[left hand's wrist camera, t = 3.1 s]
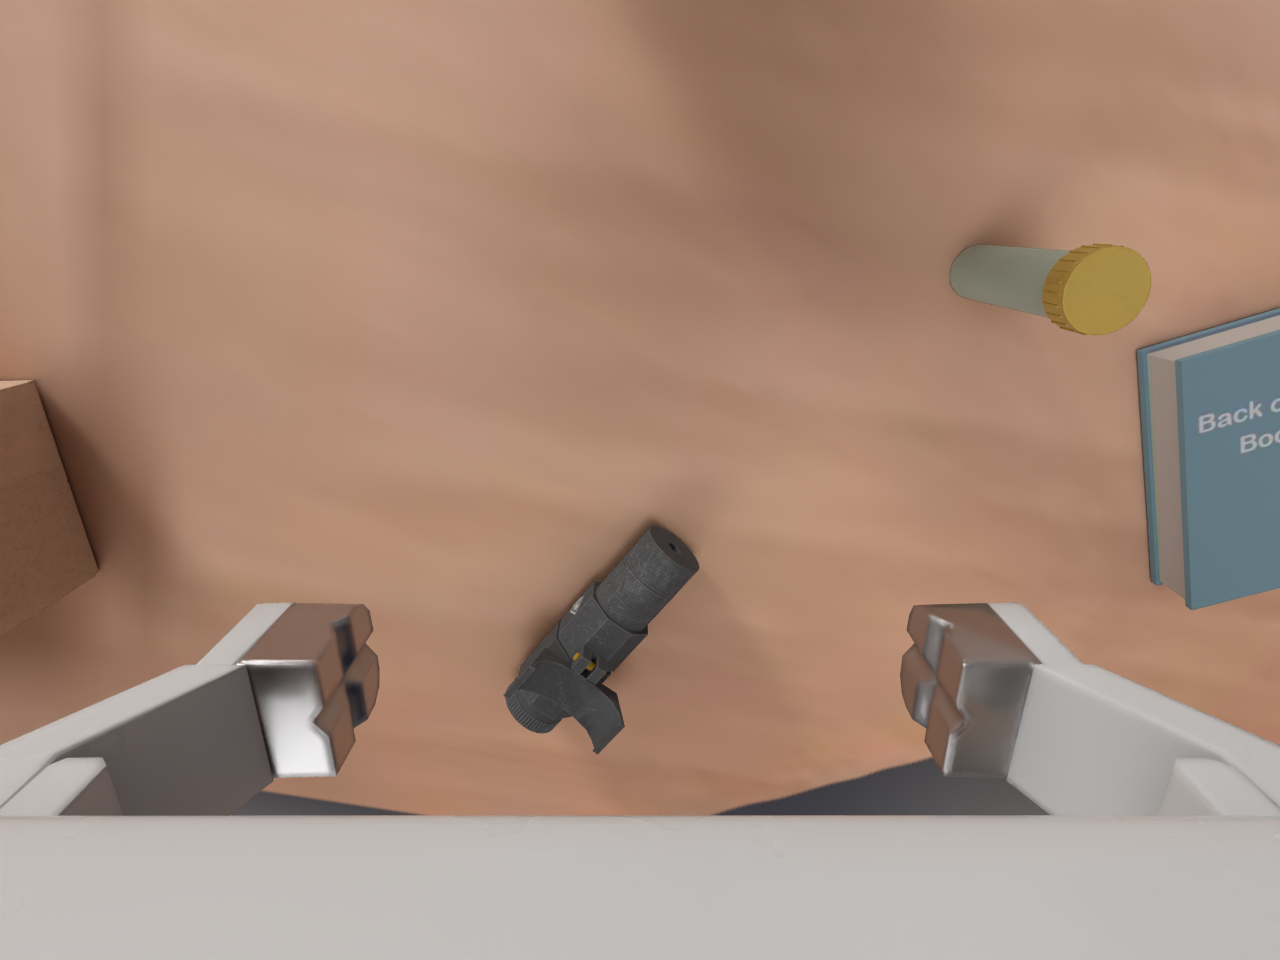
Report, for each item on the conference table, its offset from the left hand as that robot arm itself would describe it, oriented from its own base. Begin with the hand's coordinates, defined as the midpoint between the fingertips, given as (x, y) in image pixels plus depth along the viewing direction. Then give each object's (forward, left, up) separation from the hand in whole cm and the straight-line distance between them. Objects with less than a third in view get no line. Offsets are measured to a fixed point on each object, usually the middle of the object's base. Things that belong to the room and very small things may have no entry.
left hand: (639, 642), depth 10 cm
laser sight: (+29, -4, -48) cm, 56 cm away
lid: (-2, +27, -32) cm, 42 cm away
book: (+12, +52, -48) cm, 72 cm away
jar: (-2, +27, -48) cm, 55 cm away
